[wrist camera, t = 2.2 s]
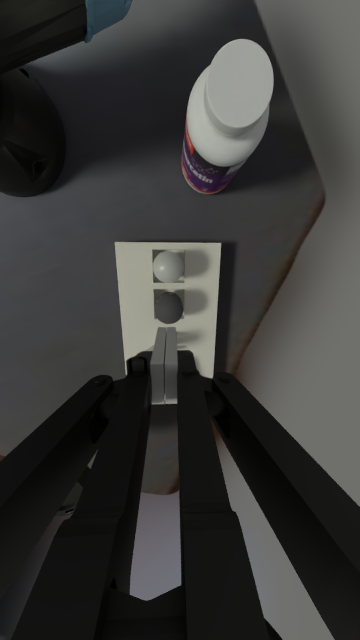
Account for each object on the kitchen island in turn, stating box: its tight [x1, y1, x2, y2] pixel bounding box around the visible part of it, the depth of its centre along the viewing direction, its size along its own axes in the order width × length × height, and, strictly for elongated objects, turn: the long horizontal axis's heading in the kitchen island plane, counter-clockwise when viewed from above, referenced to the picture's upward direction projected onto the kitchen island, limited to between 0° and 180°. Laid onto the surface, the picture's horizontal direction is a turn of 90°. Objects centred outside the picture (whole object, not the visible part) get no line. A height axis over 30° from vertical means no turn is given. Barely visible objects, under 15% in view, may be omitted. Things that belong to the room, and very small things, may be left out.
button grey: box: [153, 251, 184, 283], centre depth 29 cm, size 4×4×4 cm
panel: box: [115, 242, 221, 378], centre depth 34 cm, size 26×16×5 cm, turn 0°
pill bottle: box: [182, 39, 274, 194], centre depth 23 cm, size 8×8×14 cm
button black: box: [154, 292, 183, 324], centre depth 31 cm, size 4×4×4 cm
